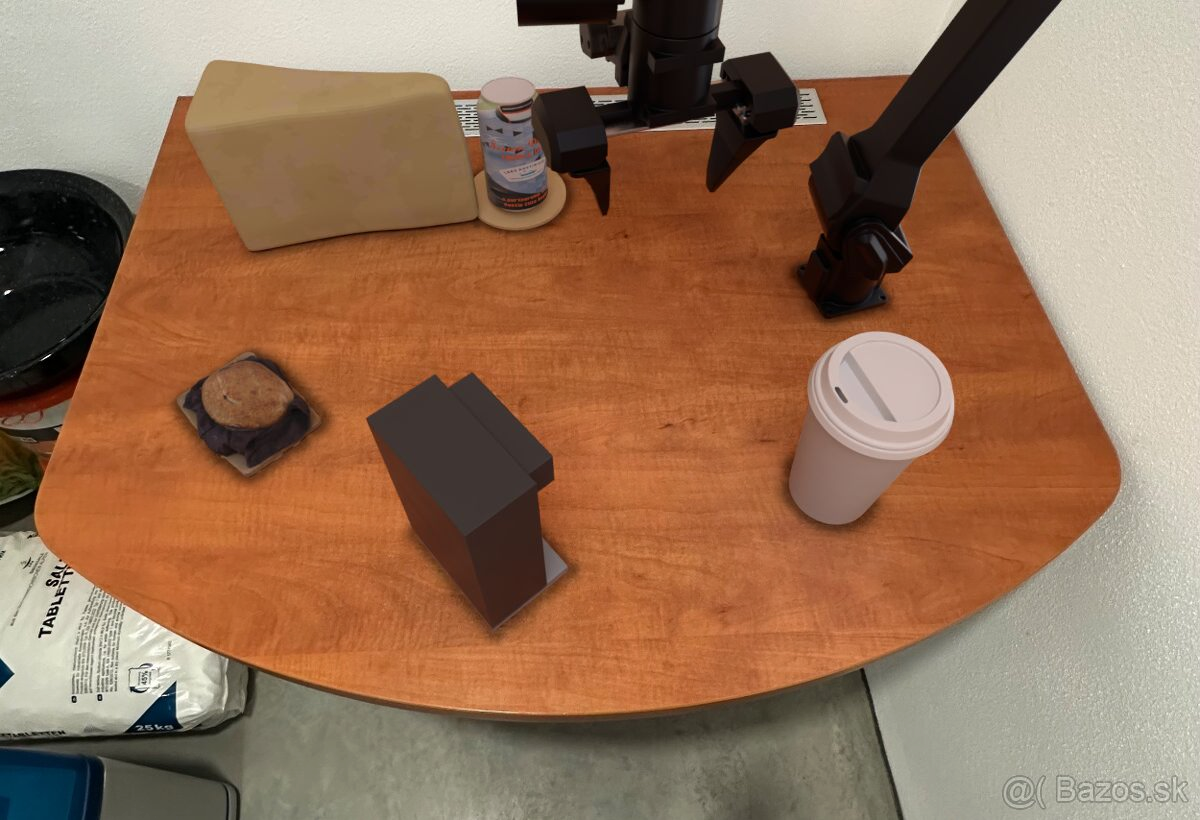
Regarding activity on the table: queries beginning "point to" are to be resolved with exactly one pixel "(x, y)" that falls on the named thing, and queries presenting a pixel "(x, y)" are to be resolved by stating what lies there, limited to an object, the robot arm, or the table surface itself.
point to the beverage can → (511, 145)
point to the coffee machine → (471, 491)
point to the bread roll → (248, 413)
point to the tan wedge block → (330, 151)
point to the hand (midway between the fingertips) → (657, 200)
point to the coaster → (525, 218)
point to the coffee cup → (867, 422)
